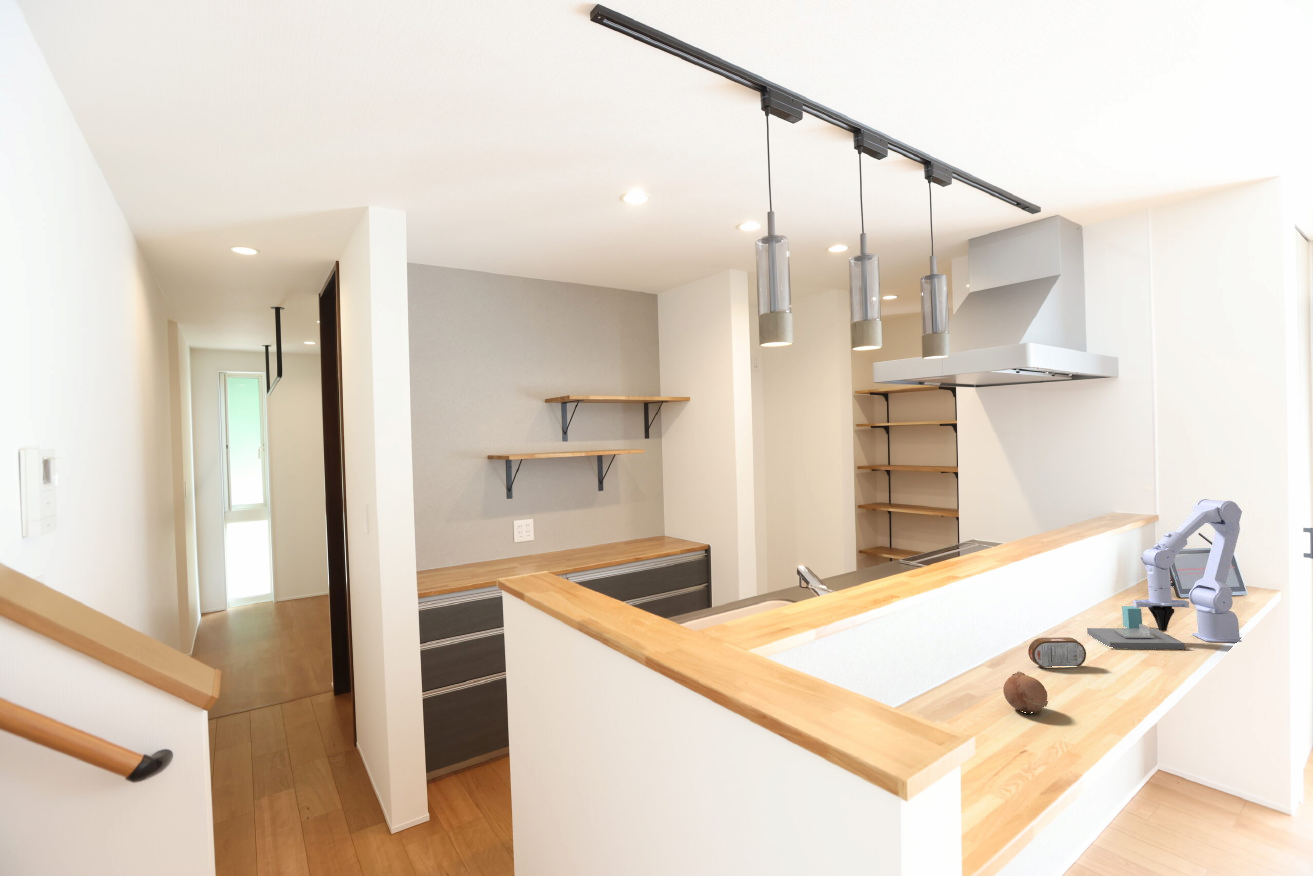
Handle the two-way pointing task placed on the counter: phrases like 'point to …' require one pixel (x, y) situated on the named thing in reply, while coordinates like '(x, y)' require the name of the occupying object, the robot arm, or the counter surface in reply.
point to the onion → (1025, 693)
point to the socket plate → (1135, 639)
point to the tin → (1057, 652)
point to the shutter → (1136, 632)
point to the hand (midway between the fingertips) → (1162, 630)
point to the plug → (1131, 616)
